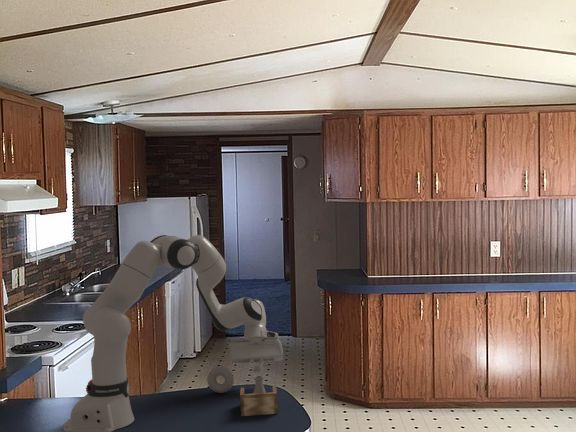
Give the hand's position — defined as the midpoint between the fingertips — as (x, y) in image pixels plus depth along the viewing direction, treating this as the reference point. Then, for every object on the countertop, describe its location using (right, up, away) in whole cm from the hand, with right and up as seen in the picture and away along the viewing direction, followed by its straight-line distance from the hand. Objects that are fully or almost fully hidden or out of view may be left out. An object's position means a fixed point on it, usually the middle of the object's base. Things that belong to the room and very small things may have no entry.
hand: (257, 371), depth 232 cm
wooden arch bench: (+2, -9, -17) cm, 19 cm away
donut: (-13, -9, +1) cm, 16 cm away
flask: (+2, -9, -13) cm, 16 cm away
